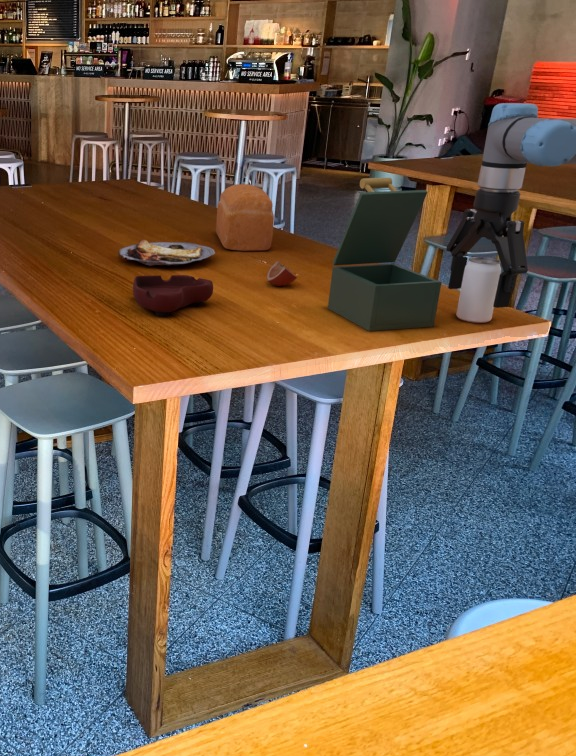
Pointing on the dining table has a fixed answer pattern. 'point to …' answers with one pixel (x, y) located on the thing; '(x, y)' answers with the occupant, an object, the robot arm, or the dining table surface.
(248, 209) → the bread
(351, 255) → the lid
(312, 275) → the dining table surface
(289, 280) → the fruit slice
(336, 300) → the chest
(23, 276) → the dining table surface
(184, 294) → the ashtray
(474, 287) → the can
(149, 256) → the food plate
